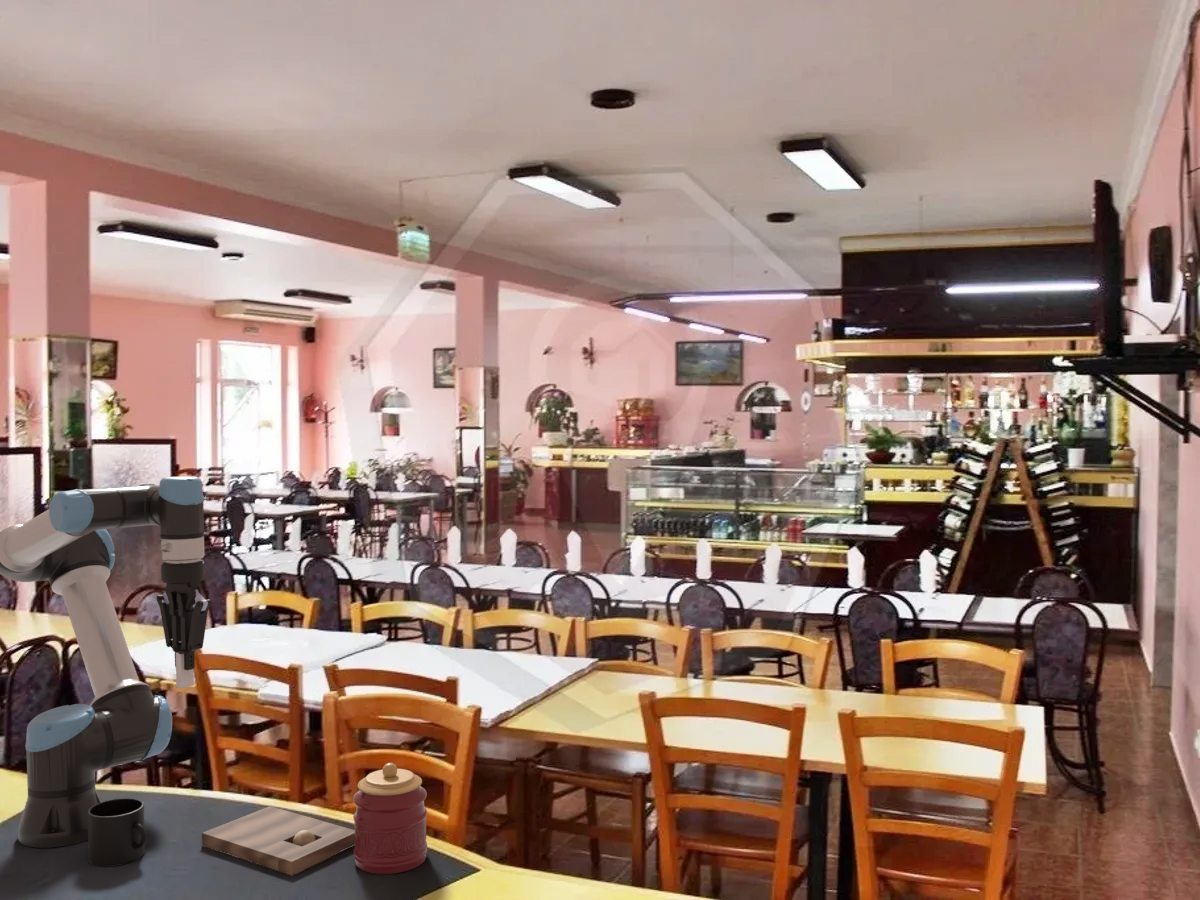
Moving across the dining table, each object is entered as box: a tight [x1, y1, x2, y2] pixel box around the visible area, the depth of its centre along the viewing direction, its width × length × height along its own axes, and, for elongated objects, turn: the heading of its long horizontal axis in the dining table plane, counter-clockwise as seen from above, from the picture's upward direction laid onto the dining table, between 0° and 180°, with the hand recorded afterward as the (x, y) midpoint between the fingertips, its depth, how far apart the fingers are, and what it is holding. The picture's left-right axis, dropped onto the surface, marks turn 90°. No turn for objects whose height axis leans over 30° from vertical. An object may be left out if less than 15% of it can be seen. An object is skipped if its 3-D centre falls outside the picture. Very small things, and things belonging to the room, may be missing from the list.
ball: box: [293, 830, 315, 846], centre depth 201 cm, size 4×4×4 cm
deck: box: [201, 805, 355, 877], centre depth 205 cm, size 24×16×2 cm, turn 58°
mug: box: [87, 797, 147, 867], centre depth 199 cm, size 9×12×9 cm
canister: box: [352, 762, 428, 875], centre depth 198 cm, size 13×13×18 cm
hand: (185, 686), depth 205 cm, fingers closed
